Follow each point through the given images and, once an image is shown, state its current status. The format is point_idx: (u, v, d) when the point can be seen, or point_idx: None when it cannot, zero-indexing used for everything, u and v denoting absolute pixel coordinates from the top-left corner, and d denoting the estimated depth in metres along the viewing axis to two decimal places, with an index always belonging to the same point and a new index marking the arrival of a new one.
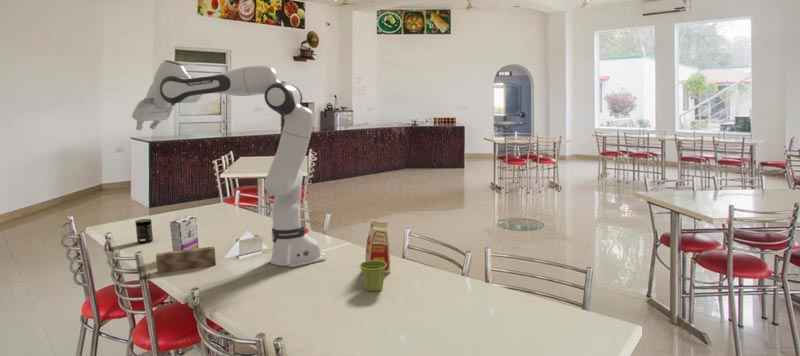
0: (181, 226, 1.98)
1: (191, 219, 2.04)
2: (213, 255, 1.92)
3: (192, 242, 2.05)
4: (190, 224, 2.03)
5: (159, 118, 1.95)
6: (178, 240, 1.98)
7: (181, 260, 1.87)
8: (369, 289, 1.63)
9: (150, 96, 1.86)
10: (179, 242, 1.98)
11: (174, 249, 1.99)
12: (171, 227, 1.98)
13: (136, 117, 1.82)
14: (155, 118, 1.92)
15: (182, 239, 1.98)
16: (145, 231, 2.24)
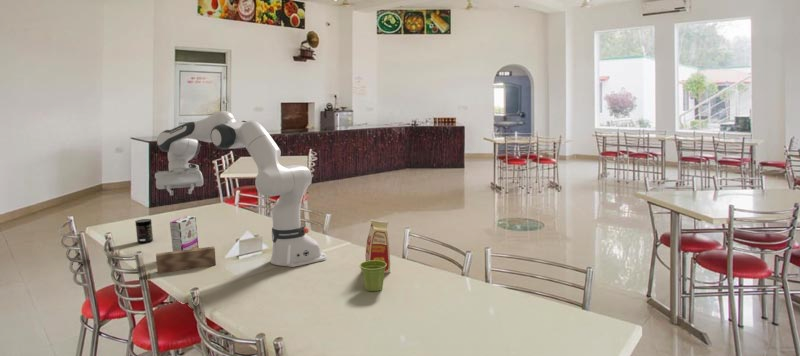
0: (181, 226, 1.98)
1: (191, 219, 2.04)
2: (213, 255, 1.92)
3: (192, 242, 2.05)
4: (190, 224, 2.03)
5: (187, 181, 2.23)
6: (178, 240, 1.98)
7: (181, 260, 1.87)
8: (369, 289, 1.63)
9: None
10: (179, 242, 1.98)
11: (174, 249, 1.99)
12: (171, 227, 1.98)
13: (156, 185, 2.19)
14: (180, 181, 2.22)
15: (182, 239, 1.98)
16: (145, 231, 2.24)
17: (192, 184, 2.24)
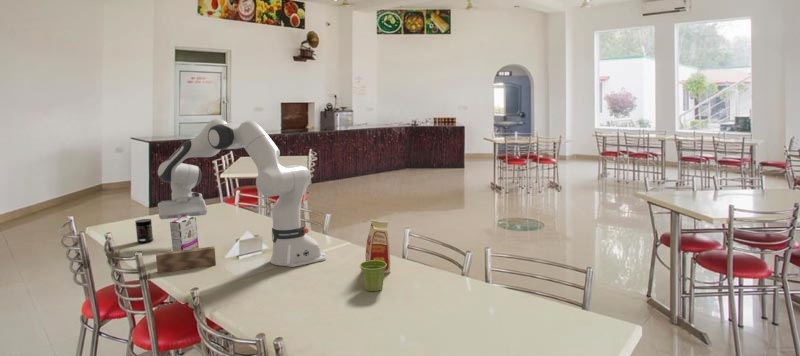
0: (181, 226, 1.98)
1: (191, 219, 2.04)
2: (213, 255, 1.92)
3: (192, 242, 2.05)
4: (190, 224, 2.03)
5: (191, 210, 2.21)
6: (178, 240, 1.98)
7: (181, 260, 1.87)
8: (369, 289, 1.63)
9: None
10: (179, 242, 1.98)
11: (174, 249, 1.99)
12: (171, 227, 1.98)
13: (159, 215, 2.16)
14: (184, 211, 2.20)
15: (182, 239, 1.98)
16: (145, 231, 2.24)
17: (188, 214, 2.20)
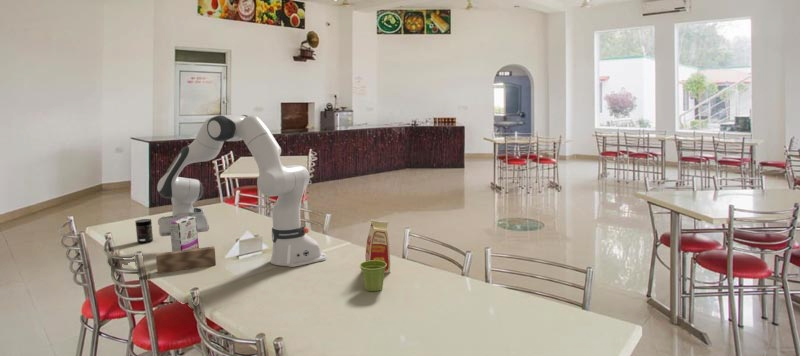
0: (180, 227, 1.97)
1: (191, 220, 2.03)
2: (213, 255, 1.92)
3: (192, 243, 2.04)
4: (189, 225, 2.02)
5: None
6: (177, 240, 1.97)
7: (181, 260, 1.87)
8: (369, 289, 1.63)
9: None
10: (178, 243, 1.97)
11: (173, 250, 1.98)
12: (171, 228, 1.97)
13: (159, 232, 2.07)
14: None
15: (181, 240, 1.97)
16: (145, 231, 2.24)
17: None
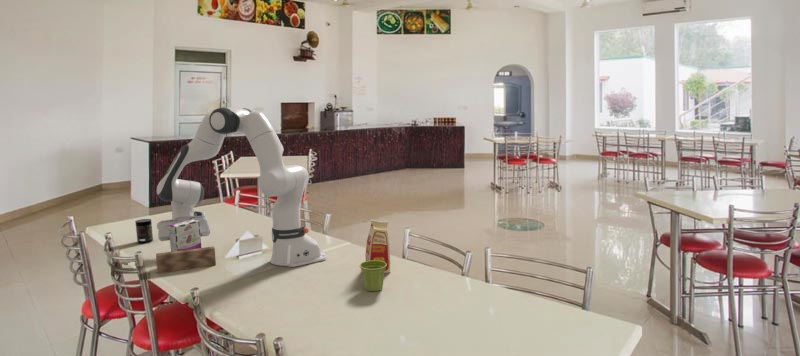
0: (177, 231, 1.91)
1: (192, 223, 1.96)
2: (213, 255, 1.92)
3: (193, 247, 1.97)
4: (190, 229, 1.95)
5: None
6: (174, 244, 1.91)
7: (181, 260, 1.87)
8: (369, 289, 1.63)
9: None
10: (175, 247, 1.91)
11: None
12: (169, 231, 1.92)
13: (158, 236, 2.00)
14: None
15: (178, 244, 1.91)
16: (145, 231, 2.24)
17: None
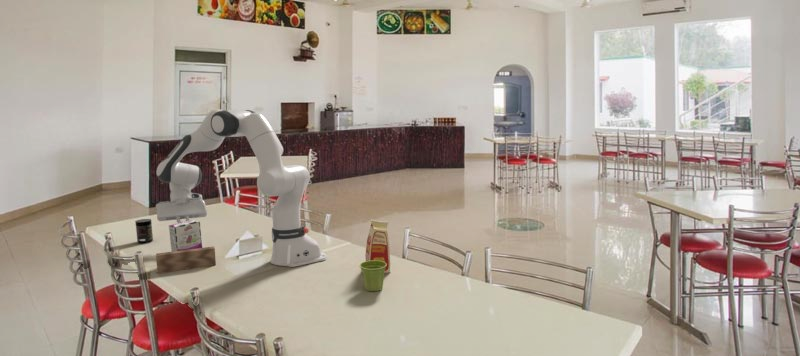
0: (177, 231, 1.91)
1: (193, 224, 1.96)
2: (213, 255, 1.92)
3: (193, 248, 1.97)
4: (190, 229, 1.95)
5: (190, 212, 2.13)
6: (174, 244, 1.91)
7: (181, 260, 1.87)
8: (369, 289, 1.63)
9: None
10: (175, 247, 1.91)
11: None
12: (170, 231, 1.92)
13: (157, 217, 2.08)
14: (183, 212, 2.11)
15: (178, 244, 1.91)
16: (145, 231, 2.24)
17: (187, 216, 2.12)
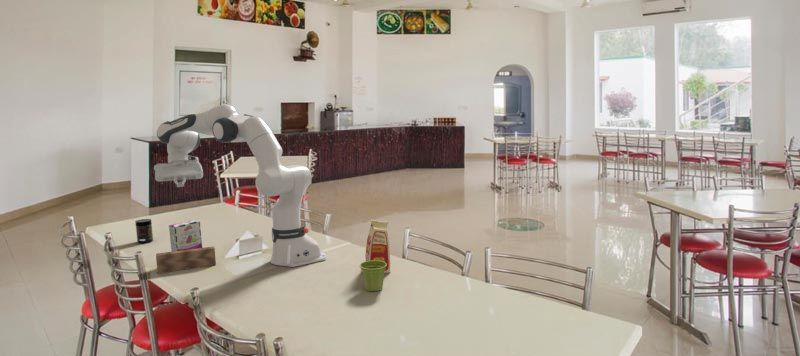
0: (177, 231, 1.91)
1: (193, 224, 1.96)
2: (213, 255, 1.92)
3: (193, 248, 1.97)
4: (190, 229, 1.95)
5: (187, 173, 2.21)
6: (174, 244, 1.91)
7: (181, 260, 1.87)
8: (369, 289, 1.63)
9: None
10: (175, 247, 1.91)
11: None
12: (170, 231, 1.92)
13: (155, 177, 2.17)
14: (180, 173, 2.20)
15: (178, 244, 1.91)
16: (145, 231, 2.24)
17: (184, 177, 2.20)
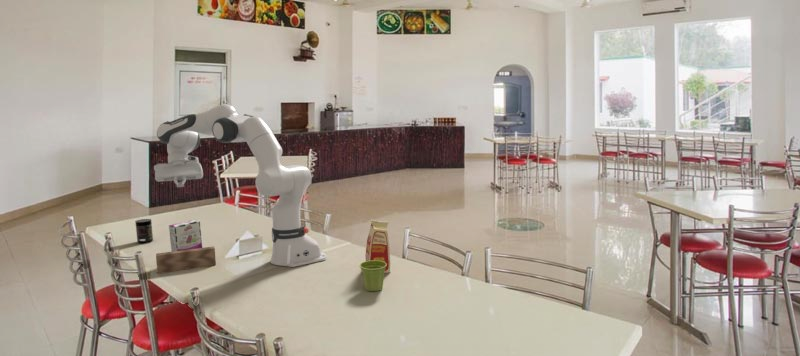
0: (177, 231, 1.91)
1: (193, 224, 1.96)
2: (213, 255, 1.92)
3: (193, 248, 1.97)
4: (190, 229, 1.95)
5: (187, 173, 2.21)
6: (174, 244, 1.91)
7: (181, 260, 1.87)
8: (369, 289, 1.63)
9: None
10: (175, 247, 1.91)
11: None
12: (170, 231, 1.92)
13: (155, 177, 2.17)
14: (180, 173, 2.20)
15: (178, 244, 1.91)
16: (145, 231, 2.24)
17: (184, 177, 2.20)
